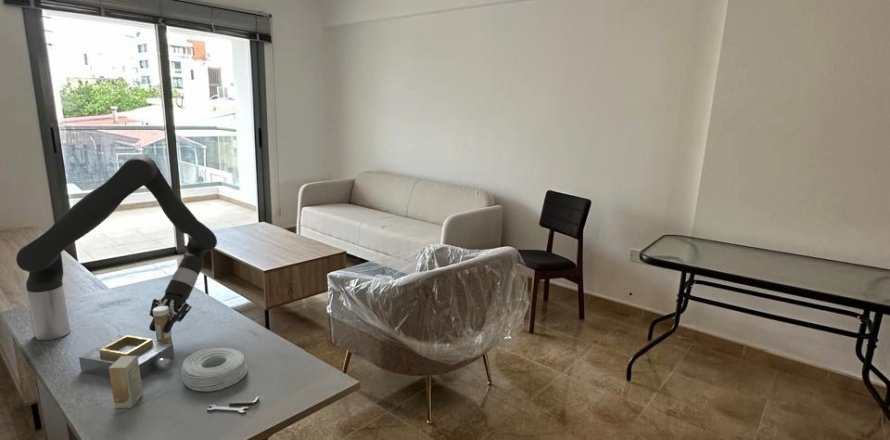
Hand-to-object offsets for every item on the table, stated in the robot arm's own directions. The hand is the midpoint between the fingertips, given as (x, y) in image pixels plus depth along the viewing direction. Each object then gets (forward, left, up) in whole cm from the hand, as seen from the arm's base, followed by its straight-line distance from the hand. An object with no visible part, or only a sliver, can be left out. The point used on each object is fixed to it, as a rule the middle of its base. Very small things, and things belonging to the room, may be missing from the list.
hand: (158, 331), depth 155 cm
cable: (+28, -9, -7) cm, 30 cm away
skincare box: (+14, -26, -6) cm, 30 cm away
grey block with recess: (+1, -11, -6) cm, 13 cm away
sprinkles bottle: (0, +2, -6) cm, 7 cm away
